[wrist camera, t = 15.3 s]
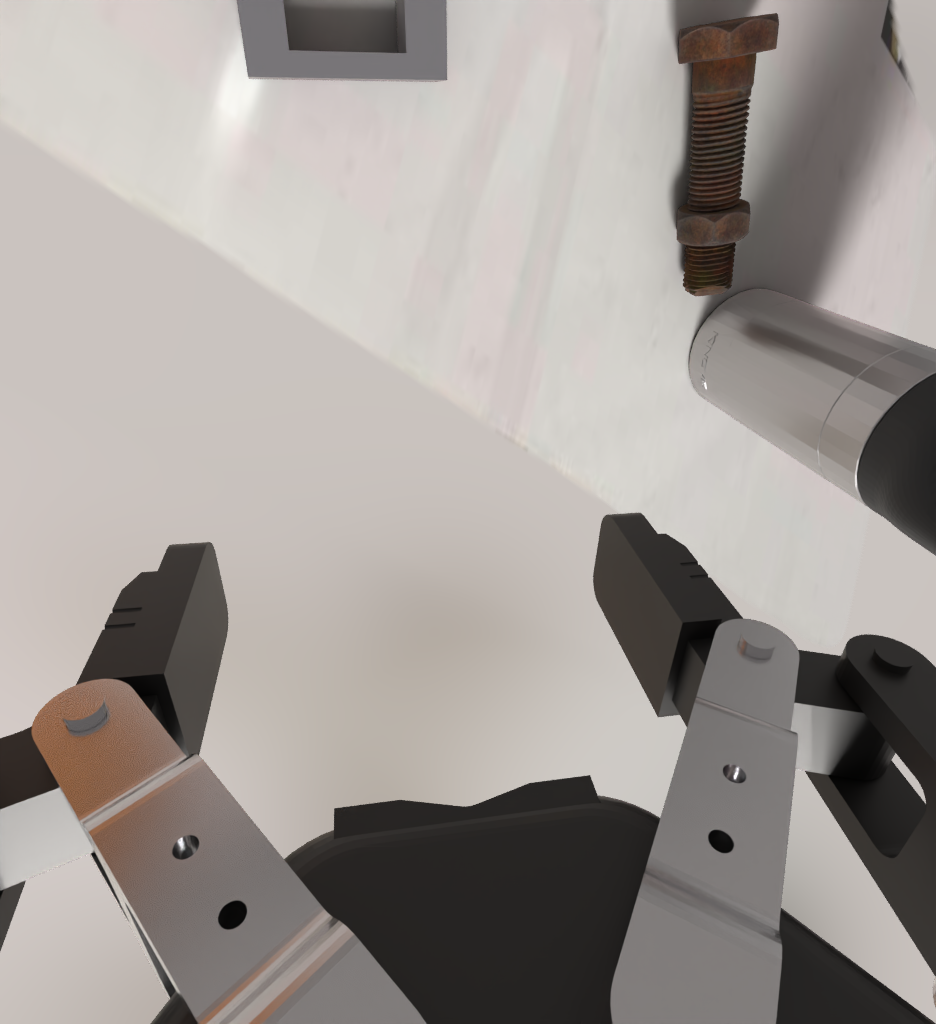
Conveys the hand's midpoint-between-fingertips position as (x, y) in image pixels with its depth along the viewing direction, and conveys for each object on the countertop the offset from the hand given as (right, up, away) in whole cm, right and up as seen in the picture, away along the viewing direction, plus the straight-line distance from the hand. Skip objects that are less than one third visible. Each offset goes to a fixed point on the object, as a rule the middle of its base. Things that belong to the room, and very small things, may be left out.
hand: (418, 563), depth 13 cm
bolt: (+16, +24, +29) cm, 41 cm away
